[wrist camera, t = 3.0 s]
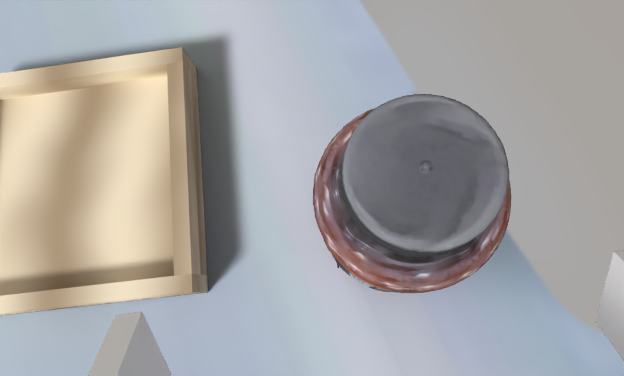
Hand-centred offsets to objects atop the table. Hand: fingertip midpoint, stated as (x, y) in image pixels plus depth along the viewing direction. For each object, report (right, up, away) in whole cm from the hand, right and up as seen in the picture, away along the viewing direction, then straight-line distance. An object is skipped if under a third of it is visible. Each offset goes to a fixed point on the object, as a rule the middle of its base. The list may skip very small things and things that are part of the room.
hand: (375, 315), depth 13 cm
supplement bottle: (+2, +2, +9) cm, 9 cm away
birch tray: (-13, +4, +11) cm, 18 cm away
